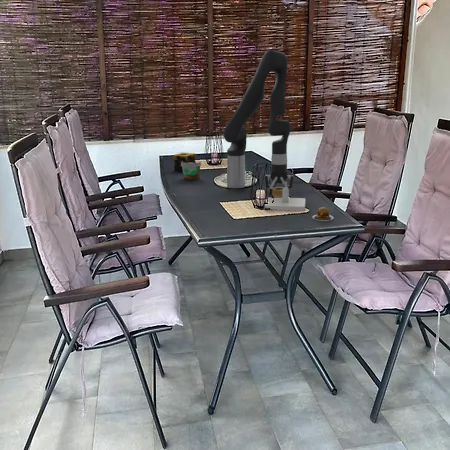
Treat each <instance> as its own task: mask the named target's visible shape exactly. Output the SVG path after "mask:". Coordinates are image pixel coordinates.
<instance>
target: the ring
mask: <svg viewBox="0 0 450 450" xmlns="http://www.w3.org/2000/svg"><path fill="white" fill-rule="evenodd" d="M283 188H285V186H273V187H272V195H274V197H275V198H283Z"/></svg>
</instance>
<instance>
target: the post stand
mask: <svg viewBox="0 0 450 450" xmlns="http://www.w3.org/2000/svg"><path fill="white" fill-rule="evenodd" d="M289 192H290V188H289V189H288V188H287V187H285V186H284V188H283V198H274V202H273V203H272V202H271V201H272V199H273V198H272V197H267V198H268V202H269V203H268V204H264V209H265V208H270V209H277V210H276V211H285V210H290V211H292V212H293V211H294V212H296V211H297V212H298V211H299V212H306V197H304V198H302V197H300V198H299V197H290V193H289Z"/></svg>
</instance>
